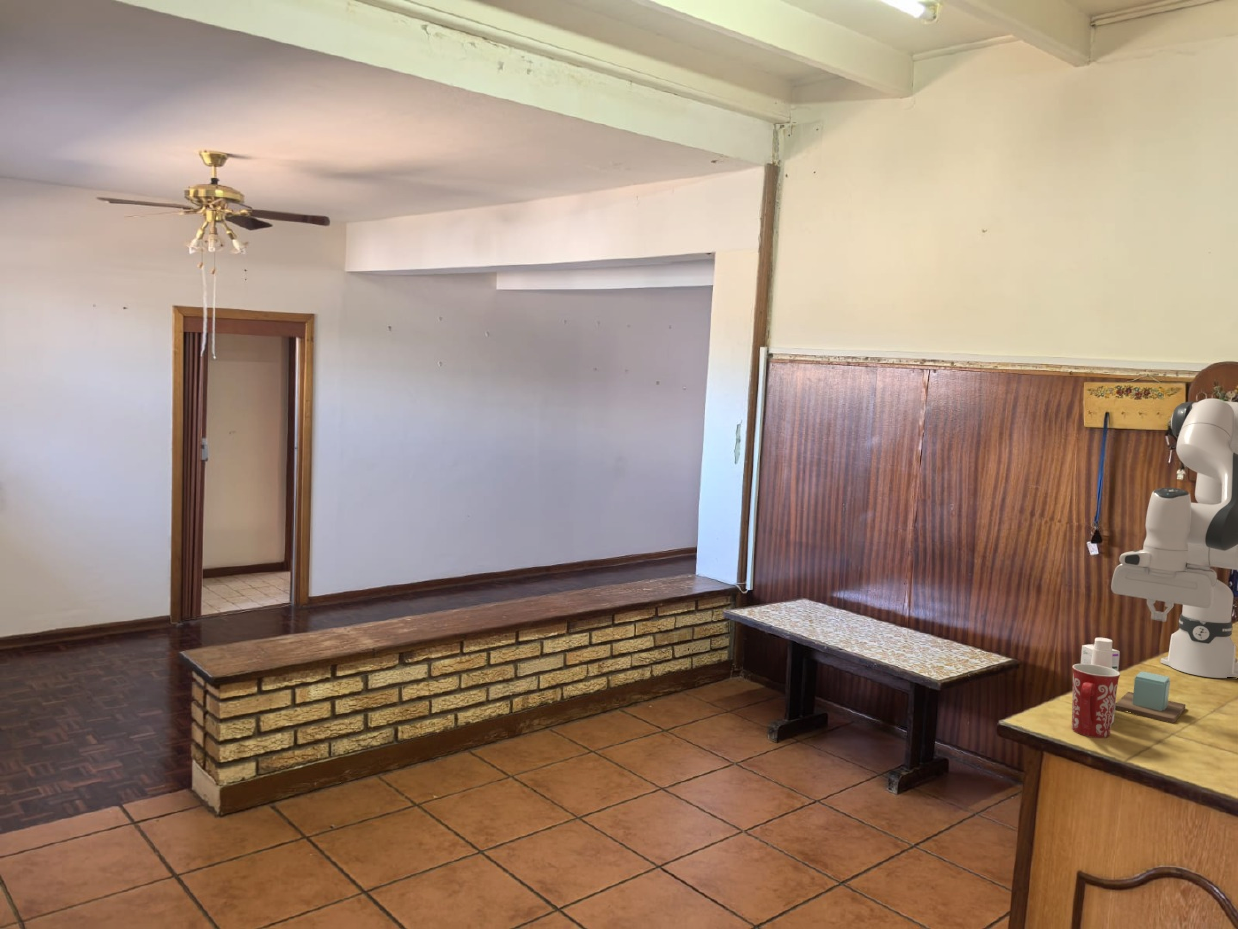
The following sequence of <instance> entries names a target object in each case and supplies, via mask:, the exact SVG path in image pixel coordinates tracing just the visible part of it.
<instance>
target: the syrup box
mask: <svg viewBox="0 0 1238 929" xmlns="http://www.w3.org/2000/svg"><path fill="white" fill-rule="evenodd" d="M1094 644H1095V643H1093V644H1084V645H1083V644H1082V645H1081V654H1080V655H1081V656H1080V664H1091V658H1092V653H1093V647H1094ZM1112 651H1113V654H1112V668H1113V669H1114V670H1116V671H1118V672H1119V668H1120V667H1119V665H1120V654H1121V653H1120V651H1119V650H1117V649H1114V648H1112Z"/></svg>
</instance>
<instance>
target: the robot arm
mask: <svg viewBox="0 0 1238 929" xmlns="http://www.w3.org/2000/svg"><path fill="white" fill-rule="evenodd" d="M1170 428H1171V432H1172V435H1173V436H1174V437H1175V438H1176V439H1177V441H1176V448H1175V450H1176V454H1177V457H1178V459H1179V461H1180V462H1182V464H1184V465H1185V467H1187V468H1188V469H1190V470H1191V471H1193V472H1195V473H1196V481H1195V490H1194V496H1195V497H1194V498H1195V500H1196V502H1192V499H1191V493H1190V492H1189V491H1188V490H1185V489H1183V488H1176V487H1160V488H1156V489H1154V490H1153V491H1152V492H1151V496H1150V498H1149V503H1148V505H1147V506H1148V507H1147V511H1146V518H1145V531H1146V535H1145V539H1144V541H1143V547H1142V549H1135V550H1132V551H1127V552H1126V551H1125V552H1124V553H1121V555H1120V556H1119V558H1118V559H1119V563H1120V564H1119V565H1117V566H1116V567H1115V568H1114V572H1113V575H1112V579H1111V584H1110V587H1111V588H1110V590H1111V591H1112V593H1113V594H1116V595H1121V596H1122V595H1123V596H1127V597H1133V598H1141V599H1146V605H1147V607H1148V609H1149V611H1150V612H1151V613H1150V620H1155V621H1159V622H1167V619H1168V613H1170V611H1171V610H1172V609H1173V607H1175V606H1174V605H1175V604H1176V605H1182V609H1181V610H1182V612H1181V613H1180V615H1179V619H1178V630H1176V631H1175V632H1174V633H1171V636H1170V642H1169V647H1168V648H1169V650H1168V655H1167V656H1165V657H1161V658H1160V663H1161V664H1163V665H1166V666H1169V667H1171V668H1173V669H1174V670H1177V671H1180V672H1182V673H1185V674H1190V675H1195V676H1199V677H1205V678H1214V679H1228V678H1227V677H1238V658H1237V657H1236V653H1237V652H1236V651H1237V645H1235V642H1234V641H1233V640H1232V635H1233V634H1232V633H1233V627H1234V626H1233V621H1232V612H1233V604H1234V593H1233V591H1232V589H1231V588H1230V587H1229V586H1228V585H1227V584H1225V582H1222V581H1221V580H1219V579H1218V573H1217V571H1215V569H1213V568H1222V569H1228V570H1234V571H1238V401H1231V400H1230V401H1225V400H1222V399H1220V398H1219V399H1218V398H1212V397H1211V398H1204V399H1202V400H1199V401H1198V402H1195V401H1193V400H1192V401H1186V402H1182V403H1180V404H1178V405H1177V406H1176V407H1175V408H1174V410H1173V412H1172V415H1171V418H1170ZM1211 567H1213V568H1211ZM1156 601H1157V602H1164V603H1165V604H1164V607H1166V609H1164V611H1160V610H1159V611H1158V610H1156V609H1157V608H1156V607H1155V604H1156Z"/></svg>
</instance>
